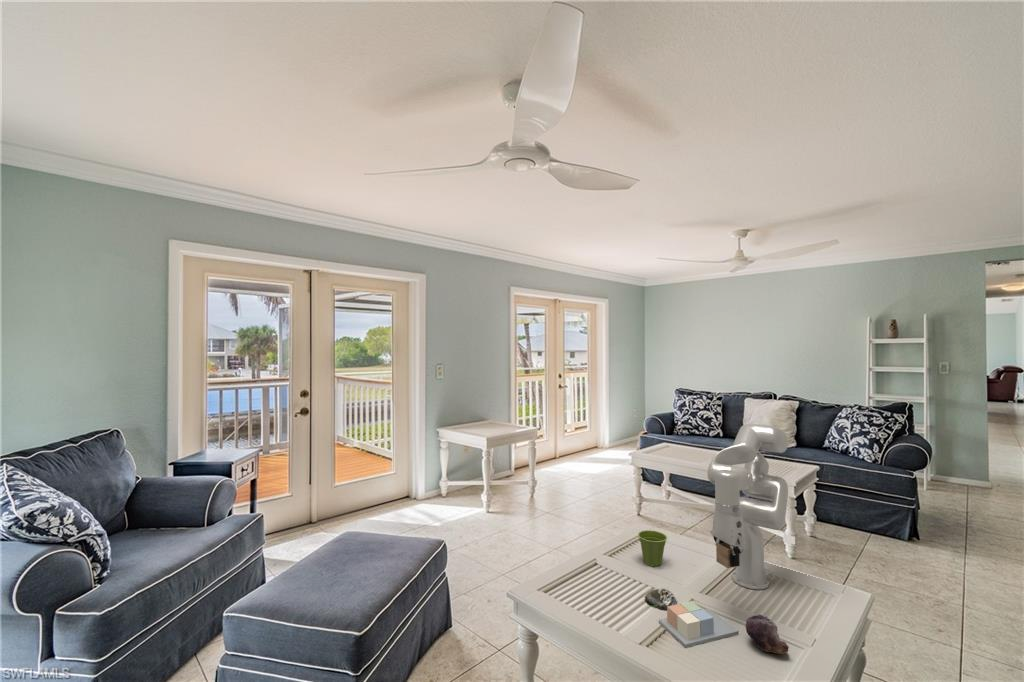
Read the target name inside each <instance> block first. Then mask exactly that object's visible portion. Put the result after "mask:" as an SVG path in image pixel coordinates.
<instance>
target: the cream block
mask: <svg viewBox="0 0 1024 682" xmlns="http://www.w3.org/2000/svg"><path fill="white" fill-rule="evenodd" d="M677 631H678V632H680V633H681V634H682V635H683V636H684V637H685V638H686V639H687V640H688V639H692V638H696V637H700V620H699V619H698V618H696V617H695V616H694V615H693V614H691V613H690V612H688V613H684V614H679V615H677Z"/></svg>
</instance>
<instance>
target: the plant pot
mask: <svg viewBox="0 0 1024 682" xmlns="http://www.w3.org/2000/svg"><path fill="white" fill-rule="evenodd" d="M637 536H638V538H639V542H640V546H641V553H642V560H643V563H644V564H645V565H647V566H650V567H659V566H661V565H662V564H663V558H664V551H665V545H666V542H667V540H668V536H667V535H666V534H665V533H663V532H661V531H657V530H650V529H649V530H640V531H639V532H638V533H637Z"/></svg>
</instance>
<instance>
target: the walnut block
mask: <svg viewBox="0 0 1024 682" xmlns="http://www.w3.org/2000/svg"><path fill="white" fill-rule="evenodd" d="M715 546H716V548H715V549H716V551H715V552H716V554H715V555H716V563H719V564H720V565H722V566H723V567H725V568H727V569H731V568H732V567H731V566H730V554H732V553H731V548H730V545H729V544H727V543H725V542H724V543H718V544H716V543H715ZM734 549H735V550H736V547H734ZM739 566H740V554H739ZM736 567H737V566H735V567H734V568H736Z"/></svg>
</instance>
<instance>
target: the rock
mask: <svg viewBox="0 0 1024 682" xmlns="http://www.w3.org/2000/svg"><path fill="white" fill-rule="evenodd" d="M745 631H746V633H747V635H748V636H749V637H750V638H751V640H752V643H753V644H754V645H755V646H757V647H758V649H760V650H762V651H763V652H766V653H769V652H771V653H774V654H778V655H783V654H787V653H788V652H789V647H790V646H789V645H788V644H787V643H786V642H785V641H782V640H781V639H780V635H779V633H778V626H777V624H776V623H775V621H774V620H773V619H770V618H768V617H767V616H764V615H763V614H757V615H751V616H750V617H748V618H747V619H746V620H745Z"/></svg>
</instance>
